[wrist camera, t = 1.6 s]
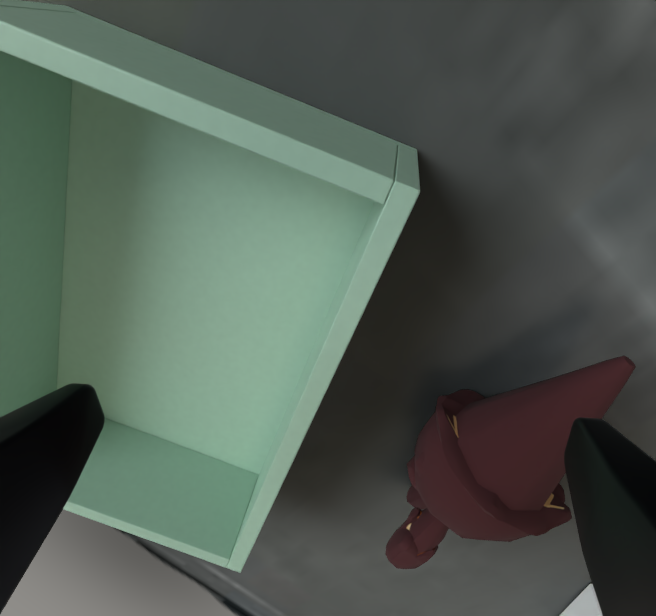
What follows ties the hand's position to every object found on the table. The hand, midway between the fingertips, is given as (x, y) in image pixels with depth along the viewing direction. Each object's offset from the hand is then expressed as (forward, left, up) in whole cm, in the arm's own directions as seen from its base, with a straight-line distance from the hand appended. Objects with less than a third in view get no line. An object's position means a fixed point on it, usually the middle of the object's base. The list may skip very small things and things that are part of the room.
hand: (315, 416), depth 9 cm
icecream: (-10, +8, -13) cm, 18 cm away
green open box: (+6, +8, -13) cm, 16 cm away
